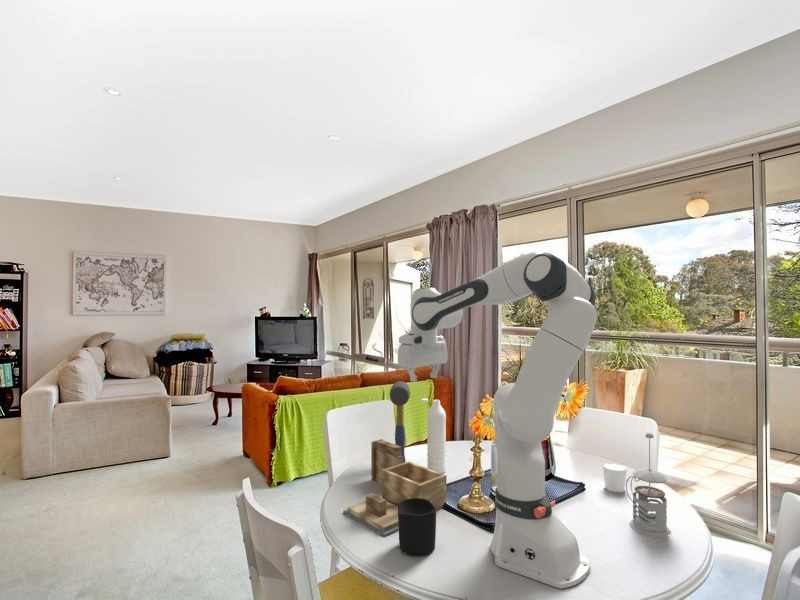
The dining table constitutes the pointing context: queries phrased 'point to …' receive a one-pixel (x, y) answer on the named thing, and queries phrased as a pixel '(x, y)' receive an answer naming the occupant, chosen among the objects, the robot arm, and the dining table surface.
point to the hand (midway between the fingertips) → (423, 379)
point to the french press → (649, 521)
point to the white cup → (614, 477)
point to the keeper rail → (382, 461)
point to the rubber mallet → (400, 411)
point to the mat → (371, 525)
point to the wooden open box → (413, 484)
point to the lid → (376, 512)
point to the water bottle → (436, 437)
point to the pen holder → (417, 526)
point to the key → (388, 447)
